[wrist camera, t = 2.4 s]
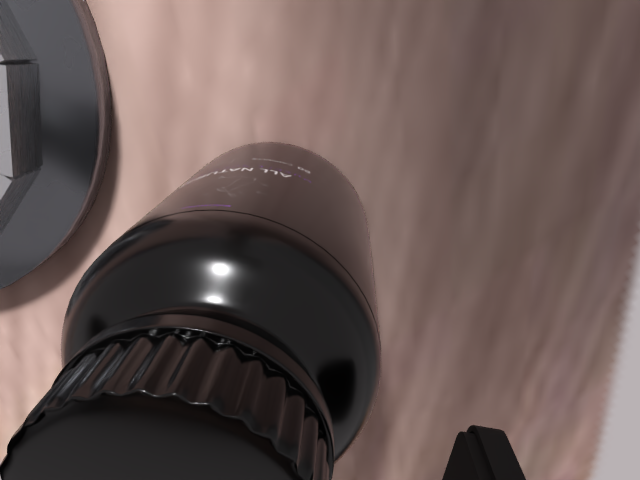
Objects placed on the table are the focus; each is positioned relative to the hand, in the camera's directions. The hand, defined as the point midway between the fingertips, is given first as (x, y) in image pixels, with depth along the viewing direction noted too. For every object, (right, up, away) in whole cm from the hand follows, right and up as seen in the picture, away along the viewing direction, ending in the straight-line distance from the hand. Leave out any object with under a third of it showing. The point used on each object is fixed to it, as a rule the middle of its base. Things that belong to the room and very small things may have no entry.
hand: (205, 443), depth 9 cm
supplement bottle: (0, +4, +9) cm, 10 cm away
